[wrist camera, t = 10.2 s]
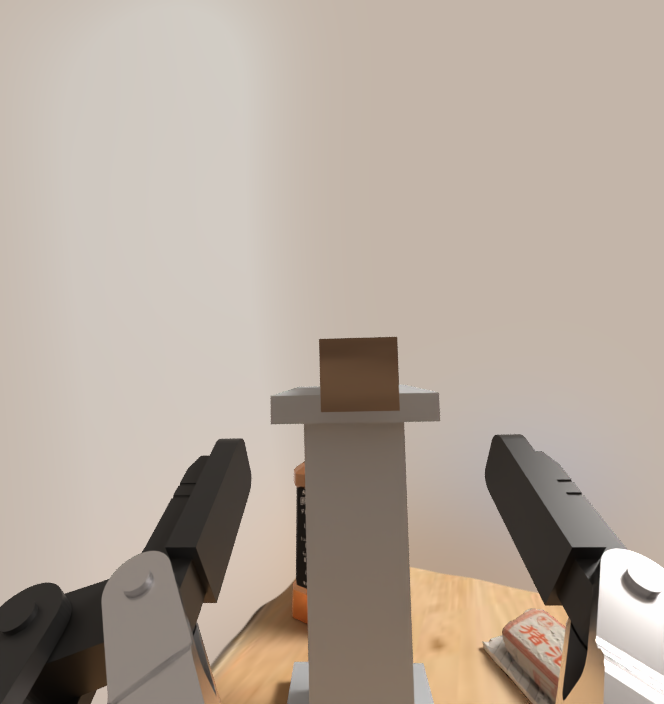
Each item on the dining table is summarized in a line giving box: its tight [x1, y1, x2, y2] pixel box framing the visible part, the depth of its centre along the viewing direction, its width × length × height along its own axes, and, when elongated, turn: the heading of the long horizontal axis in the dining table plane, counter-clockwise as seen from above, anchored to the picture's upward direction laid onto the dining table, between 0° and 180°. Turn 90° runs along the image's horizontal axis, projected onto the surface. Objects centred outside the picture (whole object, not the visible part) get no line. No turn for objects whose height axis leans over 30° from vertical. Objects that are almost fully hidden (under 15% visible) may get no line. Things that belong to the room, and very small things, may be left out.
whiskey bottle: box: [292, 461, 308, 624], centre depth 48 cm, size 10×10×32 cm
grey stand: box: [271, 385, 440, 704], centre depth 29 cm, size 14×14×32 cm
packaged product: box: [482, 609, 566, 704], centre depth 32 cm, size 18×5×10 cm
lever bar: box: [319, 337, 400, 412], centre depth 24 cm, size 22×5×4 cm, turn 178°
